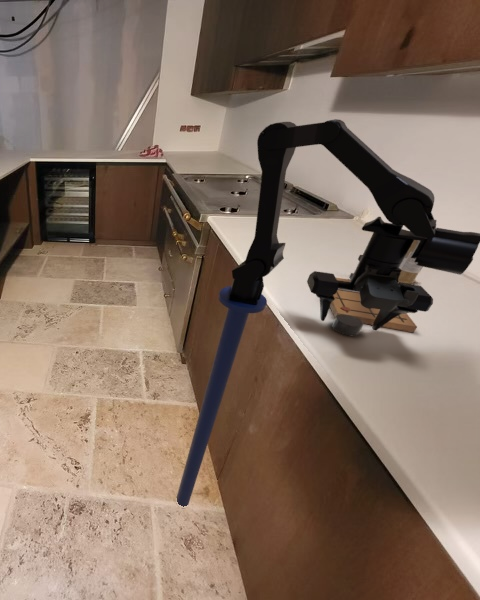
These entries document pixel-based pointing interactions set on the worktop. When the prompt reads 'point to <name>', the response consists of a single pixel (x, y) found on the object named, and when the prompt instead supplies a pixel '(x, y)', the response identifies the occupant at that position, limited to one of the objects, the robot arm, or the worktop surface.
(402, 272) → the sprinkles bottle
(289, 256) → the worktop surface
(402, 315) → the board
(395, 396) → the worktop surface
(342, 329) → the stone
